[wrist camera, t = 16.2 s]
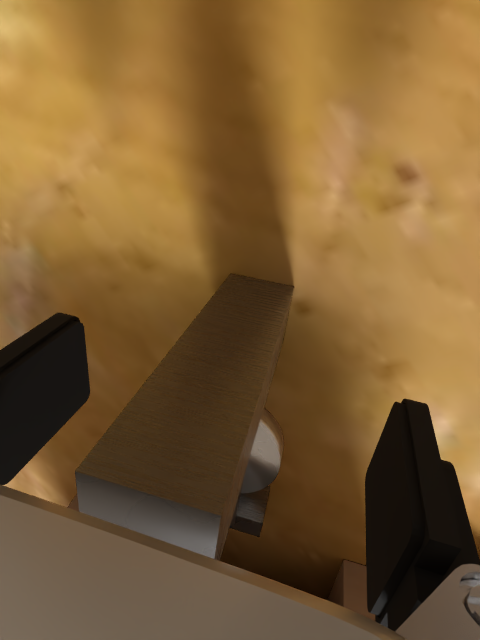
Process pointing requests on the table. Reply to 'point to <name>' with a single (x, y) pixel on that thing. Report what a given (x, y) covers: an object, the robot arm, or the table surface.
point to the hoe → (194, 427)
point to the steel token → (264, 455)
